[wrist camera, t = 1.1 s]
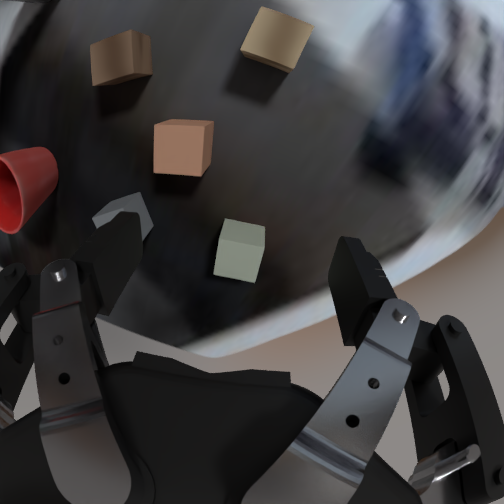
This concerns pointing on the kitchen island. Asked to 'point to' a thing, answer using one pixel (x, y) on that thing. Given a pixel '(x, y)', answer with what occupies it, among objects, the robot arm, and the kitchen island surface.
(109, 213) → the slate cube
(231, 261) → the sage cube
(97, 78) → the walnut cube
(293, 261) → the kitchen island surface
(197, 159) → the terracotta cube
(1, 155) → the flower pot
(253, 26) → the oak cube
